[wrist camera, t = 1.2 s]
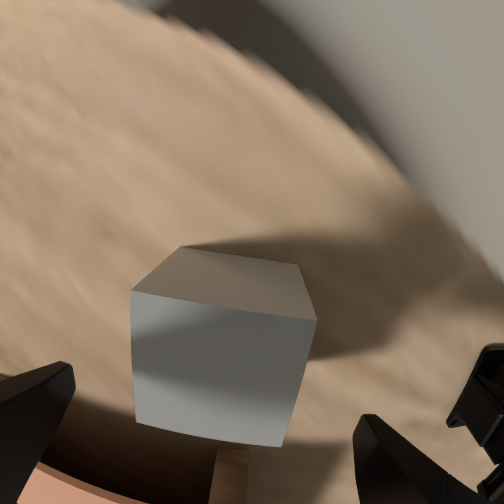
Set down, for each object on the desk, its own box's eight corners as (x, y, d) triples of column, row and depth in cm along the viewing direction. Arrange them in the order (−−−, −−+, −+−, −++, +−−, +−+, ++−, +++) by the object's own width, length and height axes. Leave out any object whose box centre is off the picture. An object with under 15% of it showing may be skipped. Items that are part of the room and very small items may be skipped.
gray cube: (297, 264, 15) (317, 320, 9) (276, 363, 16) (281, 447, 10) (180, 246, 15) (130, 290, 9) (173, 347, 16) (136, 422, 10)
